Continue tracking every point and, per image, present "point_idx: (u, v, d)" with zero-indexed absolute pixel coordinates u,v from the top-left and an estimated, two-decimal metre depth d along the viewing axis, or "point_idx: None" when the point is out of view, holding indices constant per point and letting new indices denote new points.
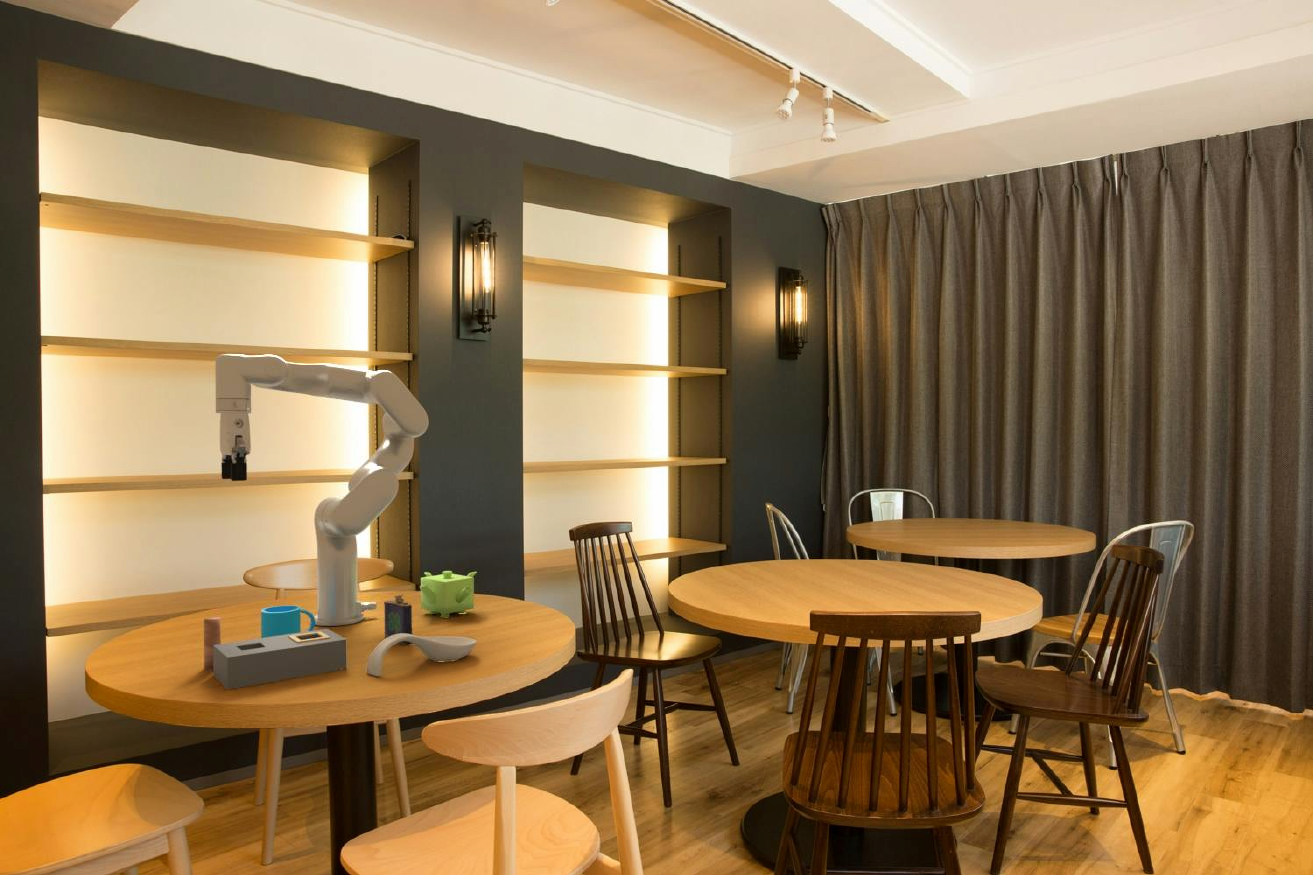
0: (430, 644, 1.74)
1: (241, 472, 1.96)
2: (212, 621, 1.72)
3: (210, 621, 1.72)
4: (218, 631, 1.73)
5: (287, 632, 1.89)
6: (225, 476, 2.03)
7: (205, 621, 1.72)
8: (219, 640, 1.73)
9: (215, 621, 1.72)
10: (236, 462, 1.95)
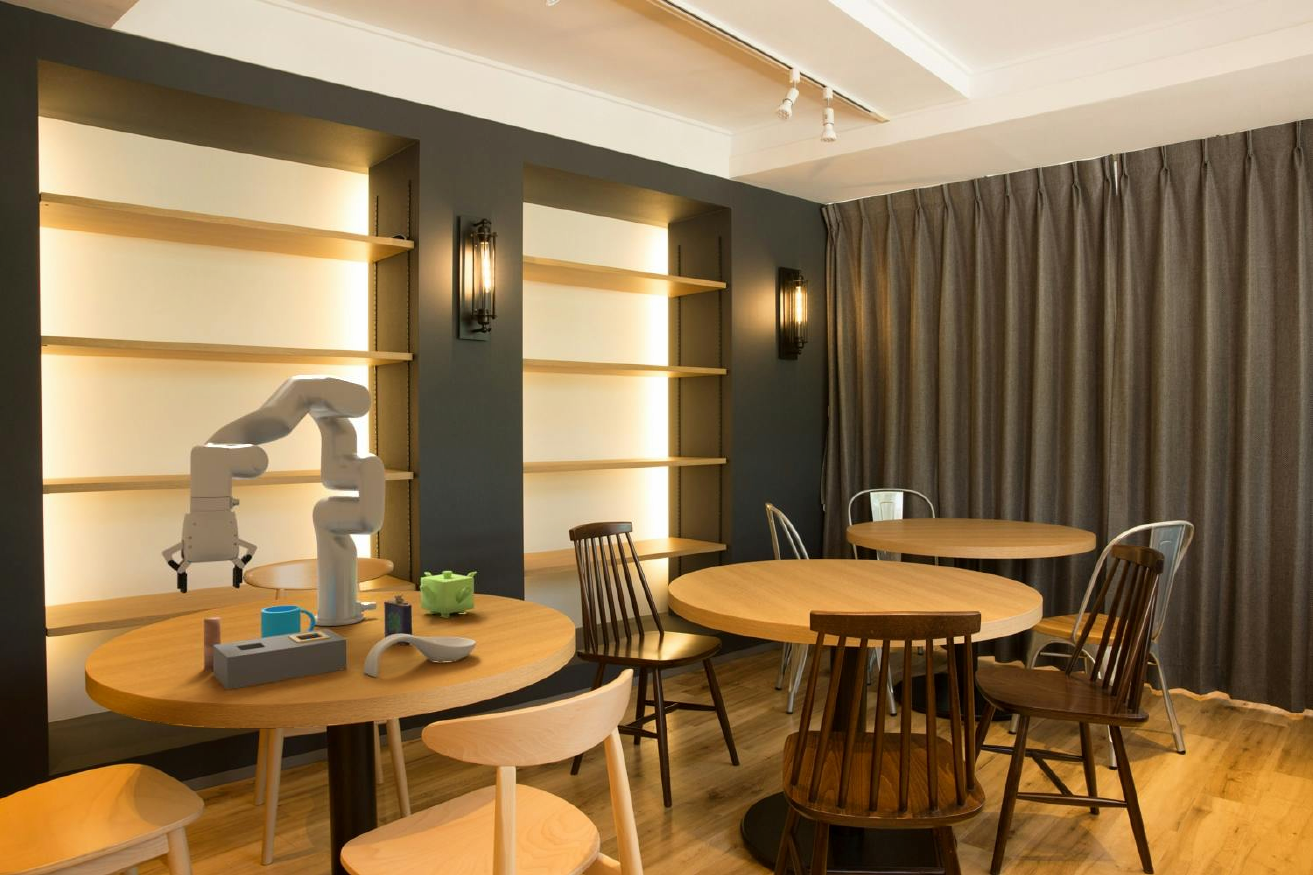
0: (428, 645, 1.73)
1: None
2: (212, 621, 1.72)
3: (210, 621, 1.72)
4: (218, 631, 1.73)
5: (287, 632, 1.89)
6: (186, 589, 1.69)
7: (205, 621, 1.72)
8: (219, 640, 1.73)
9: (215, 621, 1.72)
10: (243, 566, 1.76)
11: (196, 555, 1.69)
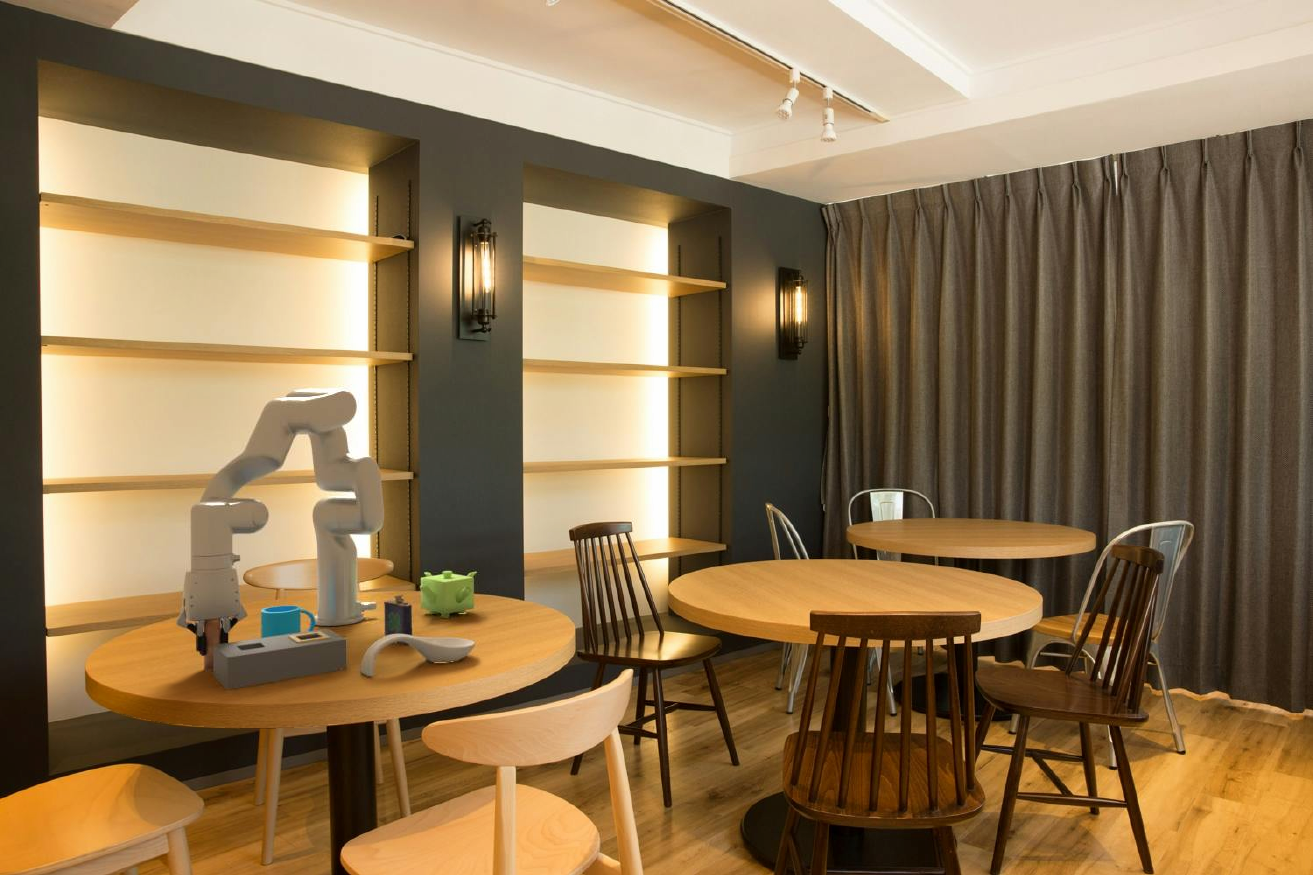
0: (425, 645, 1.73)
1: None
2: (212, 621, 1.72)
3: (210, 621, 1.72)
4: (218, 631, 1.73)
5: (287, 632, 1.89)
6: (205, 651, 1.72)
7: (205, 621, 1.72)
8: (219, 640, 1.73)
9: (215, 621, 1.72)
10: None
11: (198, 614, 1.70)
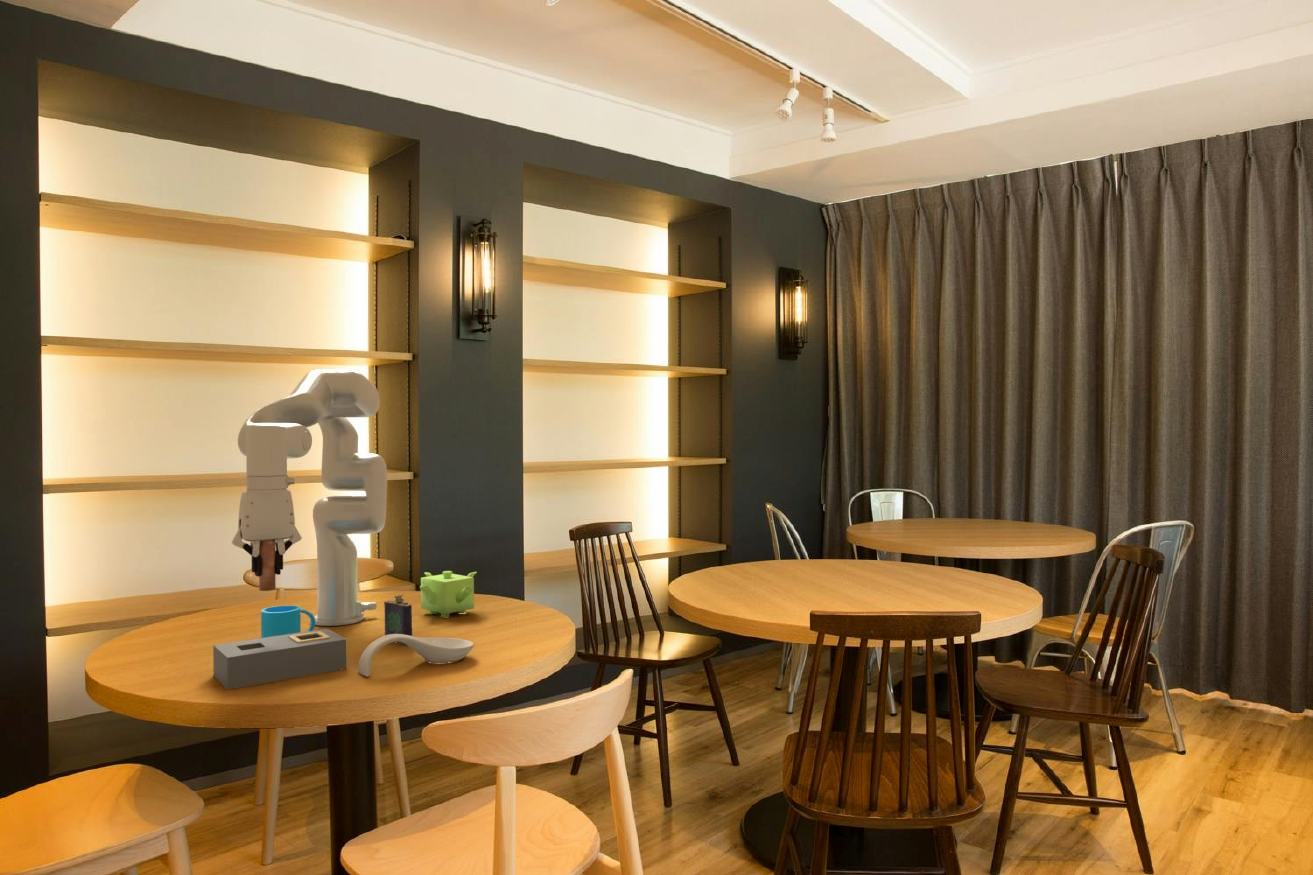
0: (422, 646, 1.73)
1: None
2: (267, 542, 1.72)
3: (265, 542, 1.72)
4: (273, 553, 1.73)
5: (287, 632, 1.89)
6: None
7: (260, 542, 1.72)
8: (274, 562, 1.73)
9: (270, 542, 1.72)
10: None
11: (253, 534, 1.70)
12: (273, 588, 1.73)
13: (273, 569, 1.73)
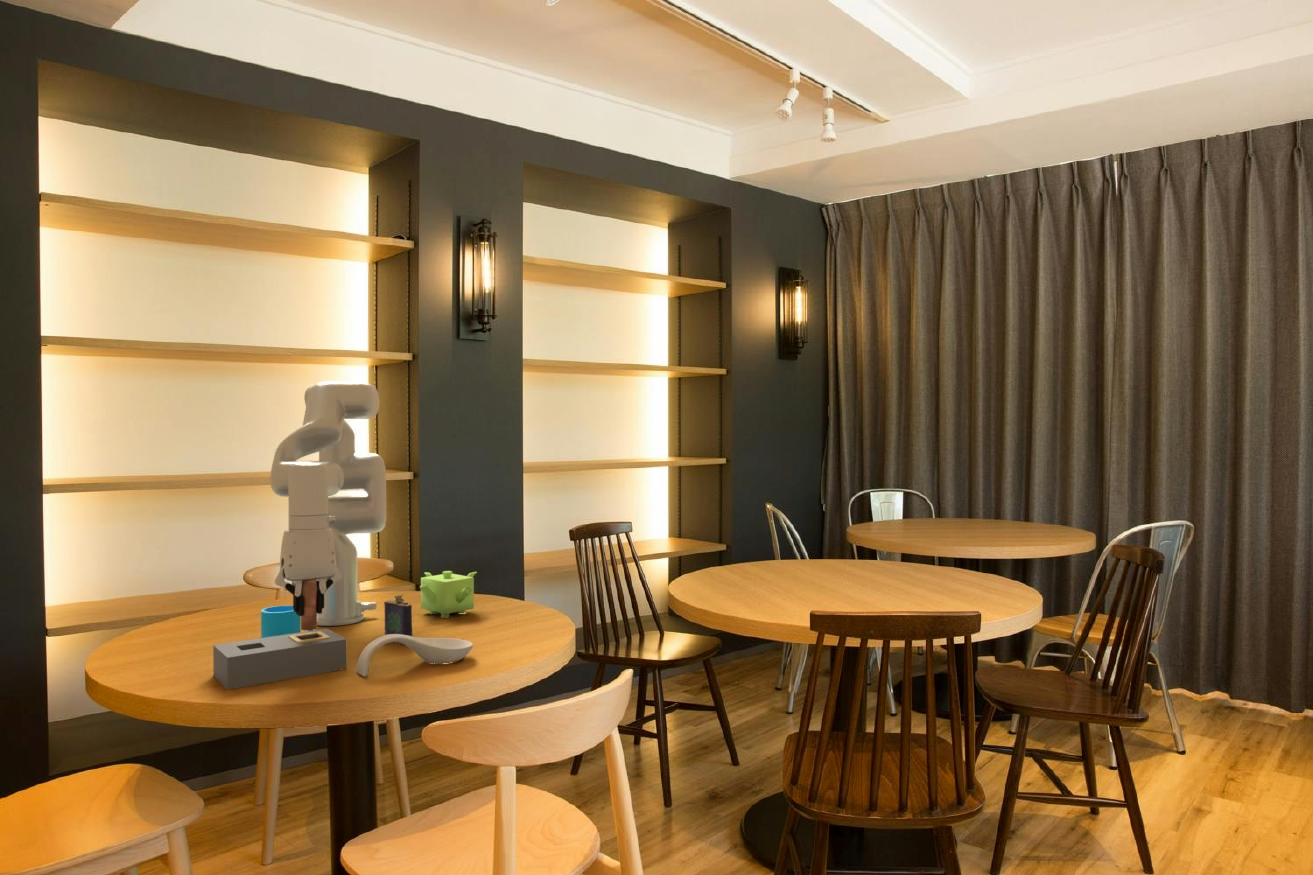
0: (420, 646, 1.72)
1: None
2: (309, 581, 1.72)
3: (308, 581, 1.72)
4: (315, 592, 1.73)
5: (287, 632, 1.89)
6: None
7: (302, 581, 1.72)
8: (316, 601, 1.73)
9: (312, 581, 1.72)
10: None
11: (296, 573, 1.70)
12: (315, 627, 1.73)
13: (315, 608, 1.73)
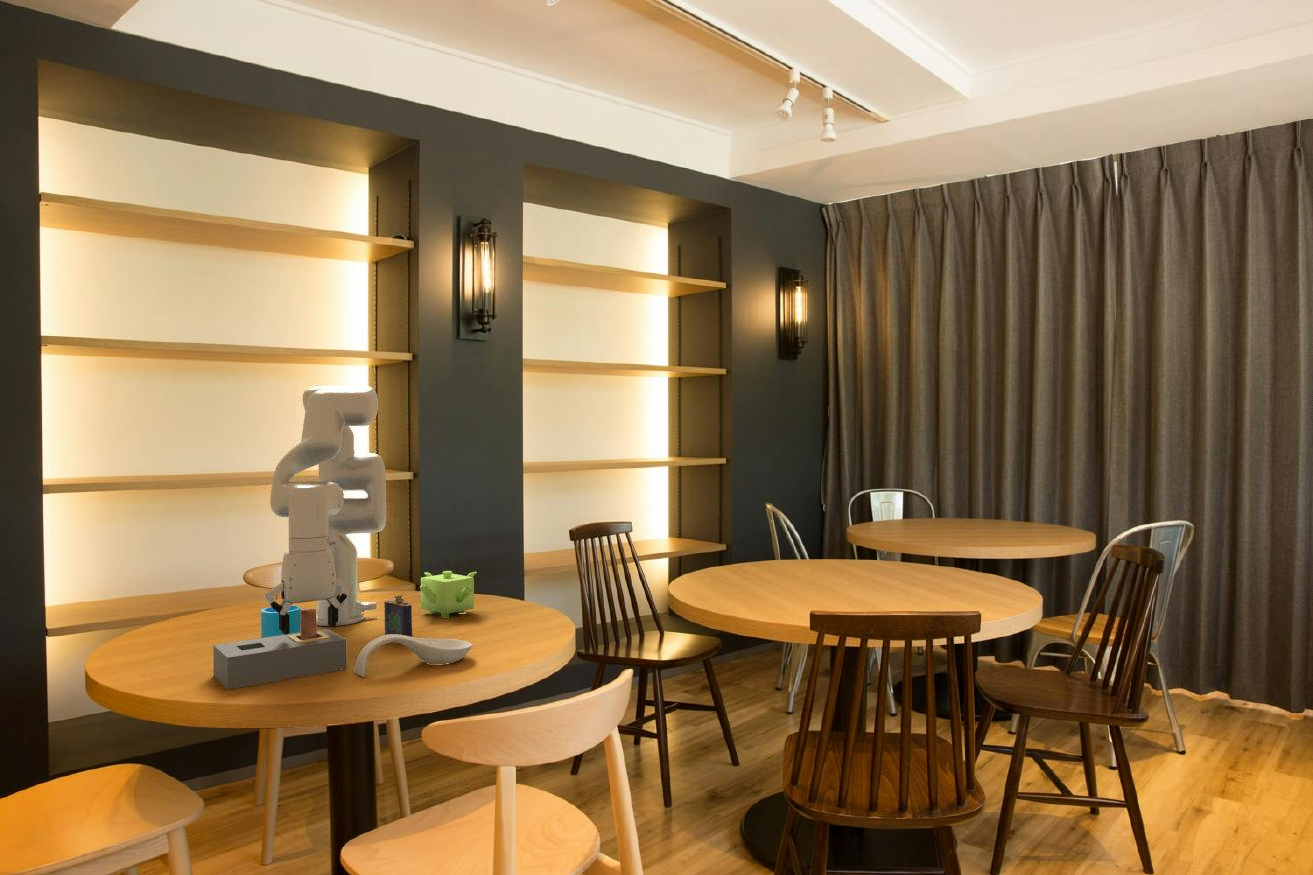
0: (419, 646, 1.72)
1: None
2: (309, 611, 1.73)
3: (307, 611, 1.73)
4: (314, 622, 1.74)
5: None
6: None
7: (302, 612, 1.73)
8: (315, 631, 1.74)
9: (312, 611, 1.73)
10: None
11: (296, 596, 1.70)
12: None
13: None
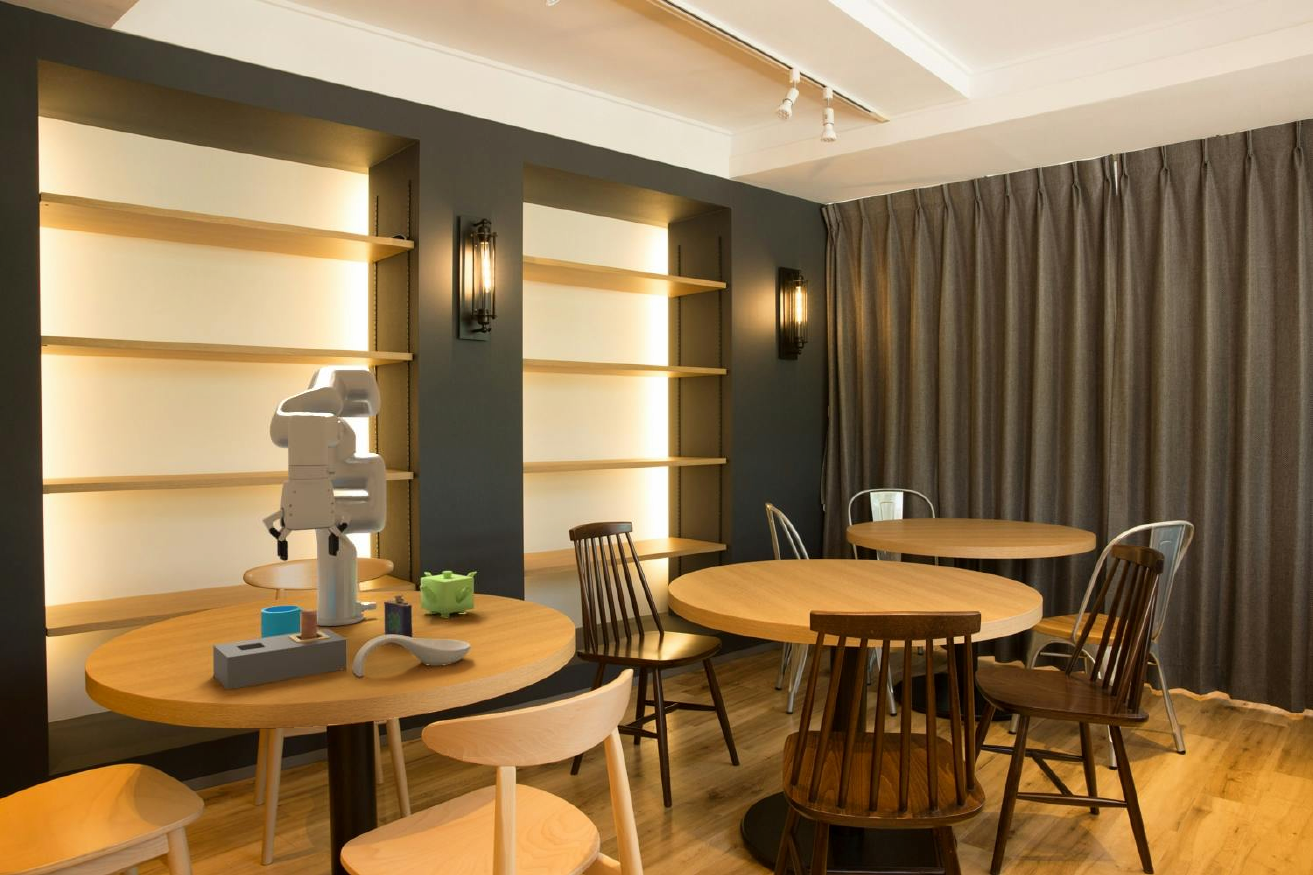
0: (416, 647, 1.72)
1: None
2: (310, 613, 1.72)
3: (308, 613, 1.72)
4: (315, 623, 1.73)
5: (287, 632, 1.89)
6: None
7: (303, 613, 1.72)
8: (316, 632, 1.74)
9: (313, 613, 1.73)
10: (339, 534, 1.77)
11: (296, 523, 1.70)
12: None
13: None
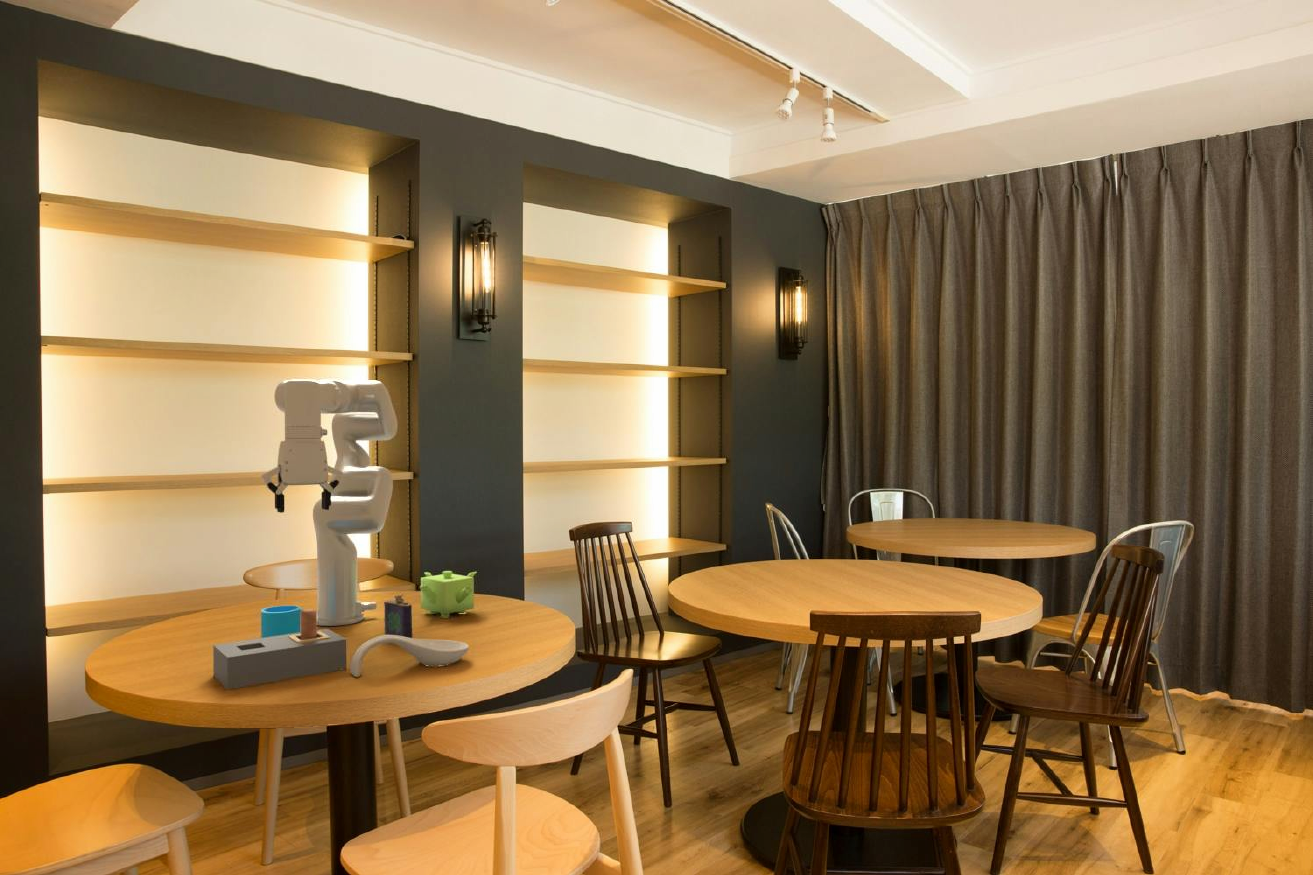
0: (413, 647, 1.71)
1: None
2: (309, 613, 1.72)
3: (307, 613, 1.72)
4: (315, 623, 1.73)
5: (287, 632, 1.89)
6: None
7: (302, 613, 1.72)
8: (316, 632, 1.74)
9: (312, 613, 1.73)
10: (331, 490, 1.94)
11: (292, 478, 1.87)
12: None
13: None
